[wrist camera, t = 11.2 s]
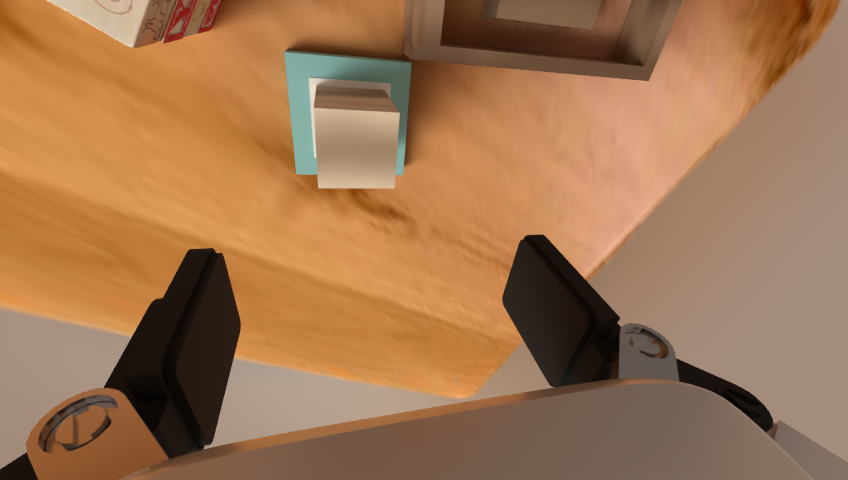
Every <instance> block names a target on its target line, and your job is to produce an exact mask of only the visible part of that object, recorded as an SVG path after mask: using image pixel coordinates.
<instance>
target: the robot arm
mask: <svg viewBox="0 0 848 480" xmlns="http://www.w3.org/2000/svg"><path fill="white" fill-rule="evenodd" d="M502 300H503V305H504V307H505V309H506V311H507V312H508V314H509V316H510V318H511V319H512V321H513V323H514V325H515V326H516V328H517V330H518V331H519V333H520V335H521V337H522V338H523V340H524V342H525V344H526V345H527V347H528V349H529V350H530V352H531V354H532V356H533V357H534V359H535V361H536V363H537V364H538V366H539V368H540V369H541V371H542V373H543V374H544V376H545V378H546V380H547V381H548V383H549V385H551V386H552V387H555V388H549V389H543V390H537V391H531V392H524V393H518V394H513V395H506V396H500V397H493V398H488V399H481V400H475V401H469V402H464V403H457V404H451V405H446V406H440V407H433V408H427V409H422V410H416V411H410V412H404V413H398V414H392V415H386V416H380V417H374V418H369V419H363V420H357V421H352V422H345V423H340V424H334V425H329V426H322V427H317V428H311V429H305V430H299V431H294V432H289V433H283V434H278V435H273V436H267V437H262V438H257V439H251V440H246V441H241V442H236V443H230V444H226V445H222V446H217V447H213V448H209V449H204V446H205V445H209V444H211V443H212V441H213V438H214V434H215V431H216V427H217V423H218V418H219V414H220V410H221V406H222V402H223V398H224V394H225V390H226V386H227V382H228V378H229V374H230V370H231V366H232V362H233V358H234V354H235V350H236V346H237V342H238V338H239V334H240V328H241V323H240V317H239V313H238V310H237V306H236V302H235V298H234V294H233V290H232V287H231V283H230V279H229V275H228V271H227V267H226V264H225V260H224V256H223V254H222V253H216V251H215V250H214V249H213V248H207V249H190V250H188V252H187V253H186V255H185V257H184V259H183V261H182V263H181V265H180V267H179V269H178V270H177V272H176V274H175V276H174V278H173V280H172V282H171V284H170V286H169V287H168V289H167V291H166V293H165V295H164V297H163V298H161V299H156V300H154V301H153V302H152V303H151V304H150V306H149V307H148V309H147V311H146V313H145V315H144V316H143V318H142V320H141V322H140V324H139V325H138V327H137V329H136V331H135V332H134V334H133V336H132V338H131V340H130V341H129V343H128V345H127V347H126V349H125V350H124V352H123V354H122V356H121V358H120V359H119V361H118V363H117V365H116V367H115V368H114V370H113V372H112V374H111V376H110V377H109V379H108V381H107V383H106V385H105V386H104V388H100V389H93V390H89V391H86V392H82V393H80V394H78V395H75V396H73V397H71V398H69V399H67V400H65V401H64V402H62V403H60V404H59V405H57V406H56V407H54V408H53V409H52V410H50V411H49V412H48V413H47V414H46V415H45V416H44V417H43V418H42V419H41V420H40V421H39V422H38V423H37V424H36V426H35V427H34V428H33V430H32V431H31V433H30V435H29V438H28V440H27V443H26V447H27V453H25V454H23V455H22V456H20V457H19V458H17V459H16V460H14V461H13V462H11V463H9V464H8V465H6V466H5V467H3V468H2V469H0V480H848V463H847V462H846V461H844V460H843V459H841V458H839V457H838V456H836V455H835V454H833V453H832V452H830V451H828V450H827V449H825V448H823V447H822V446H820V445H819V444H817V443H816V442H814V441H812V440H811V439H809V438H808V437H806V436H804V435H803V434H801V433H800V432H798V431H796V430H795V429H793V428H791V427H790V426H788V425H787V424H785V423H783V422H782V421H780V420H779V421H778V422H777V423H774V422H773V419H772V417H771V415H770V413H769V411H768V410H767V409H766V407H765V406H764V405H763V404H762V403H761V402H760V401H759V400H758V399H757V398H756V397H755V396H754V395H752V394H751V393H750V392H748V391H746V390H744V389H743V388H741V387H739V386H737V385H735V384H733V383H731V382H728V381H726V380H724V379H722V378H719V377H717V376H715V375H713V374H710V373H708V372H706V371H704V370H701V369H699V368H697V367H694V366H692V365H690V364H688V363H685V362H683V361H681V360H679V359H676V356H675V352H674V349H673V347H672V345H671V344H670V343H669V341H668V340H666V338H665V337H663V336H662V335H661V334H660V333H658V332H657V331H655V330H653V329H651V328H649V327H647V326H644V325H640V324H633V323H630V324H625V325H624V326H623V327H620V326H619V324H618V323H617V322H618V321H619V319H620V317H619V316H618V315H617V314H616V313H615V312H614V311H613V310H612V308H611V307H610V306H609V305H608V304H607V303H606V302H605V301H604V300H603V299H602V298H601V296H600V295H599V294H598V293H597V292H596V291H595V290H594V289H593V288H592V287H591V286H590V284H589V283H588V282H587V281H586V280H585V279H584V278H583V277H582V276H581V275H580V274H579V272H578V271H577V270H576V269H575V268H574V267H573V266H572V265H571V264H570V263H569V262H568V260H567V259H566V258H565V257H564V256H563V255H562V254H561V253H560V252H559V251H558V250H557V248H556V247H555V246H554V245H553V244H552V243H551V242H550V241H549V240H548V239H547V238H546V236H544V235H527V236H525V237H524V239H523V240H521V241H520V243H519V246H518V249H517V252H516V255H515V258H514V262H513V265H512V268H511V271H510V274H509V277H508V281H507V284H506V287H505V290H504V293H503V297H502ZM203 449H204V450H203Z"/></svg>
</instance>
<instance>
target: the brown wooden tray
mask: <svg viewBox="0 0 848 480" xmlns="http://www.w3.org/2000/svg"><path fill="white" fill-rule="evenodd" d="M601 2H602V0H484V1H483V7H482V14H481V17H488V18H496V19H503V20H511V21H519V22H527V23H535V24H542V25H550V26H558V27H566V28H575V29H585V30H593V28H594V24H595V21H596V18H597V15H598V12H599V8H600V5H601ZM681 2H682V0H632V3H631V6H630V9H629V11H628V14H627V17H626V20H625V23H624V26H623V28H622V31H621V34H620V37H619V40H618V43H617V46H616V48H615V51H614V54H613V57H612V60H604V59H595V58H586V57H576V56H567V55H557V54H548V53H538V52H529V51H519V50H510V49H500V48H491V47H481V46H472V45H462V44H453V43H443V42H441V33H442V24H443V15H444V6H445V0H405V13H404V30H403V46H402V53H403V54H404V55H406V56H408V57H409V58H411V59H412V60H423V61H434V62H445V63H456V64H467V65H478V66H489V67H500V68H511V69H522V70H533V71H544V72H555V73H566V74H577V75H588V76H599V77H610V78H621V79H632V80H643V81H649V79H650V77H651V74H652V72H653V69H654V67H655V65H656V62H657V60H658V57H659V55H660V52H661V50H662V48H663V45H664V43H665V40H666V38H667V36H668V33H669V31H670V28H671V26H672V24H673V21H674V19H675V16H676V14H677V11H678V9H679V7H680V4H681Z"/></svg>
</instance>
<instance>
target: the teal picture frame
mask: <svg viewBox="0 0 848 480" xmlns="http://www.w3.org/2000/svg"><path fill="white" fill-rule="evenodd" d="M284 54H285V64H286V74H287V84H288V94H289V104H290V114H291V124H292V134H293V144H294V154H295V164H296V174H317V157H316V140H315V123H314V100H315V92H316V85H324V86H337V87H351V88H365V89H379V90H385V92H386V93H387V95H388V96H389V98H390V99H391V101H392V102H393V103H394V105H395V106H396V108H397V109H398V111H399V112H400V117H399V132H398V147H397V161H396V175H403V170H404V157H405V144H406V131H407V118H408V104H409V91H410V78H411V65H412V63H410V62H409V61H406V60H394V59H383V58H372V57H361V56H350V55H339V54H328V53H316V52H305V51H294V50H286V51H285V52H284Z"/></svg>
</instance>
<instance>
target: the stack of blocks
mask: <svg viewBox="0 0 848 480" xmlns="http://www.w3.org/2000/svg"><path fill="white" fill-rule="evenodd" d="M46 1H48V2H50V3H52V4H54V5H55V6H57V7H59V8H61V9H62V10H64V11H66V12H68V13H69V14H71V15H73V16H74V17H76V18H78V19H80V20H81V21H83V22H85V23H87V24H88V25H90V26H92V27H94V28H95V29H97V30H99V31H101V32H102V33H104V34H106V35H108V36H109V37H111V38H113V39H115V40H116V41H118V42H120V43H122V44H123V45H126V46H128V47H130V48H137V47H141V46H145V45H149V44H153V43H156V42H158V41H159V42H162V43H167V42H172V41H175V40H179V39H182V38H183V37H185V36H188V35H192V34H195V33H196V34H198V33H203V32H206V31H209V30H210V29H211V26H212V24H213V21H214V19H215V17H216V14H217V12H218V10H219V7H220V5H221V2H222V0H46Z"/></svg>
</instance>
